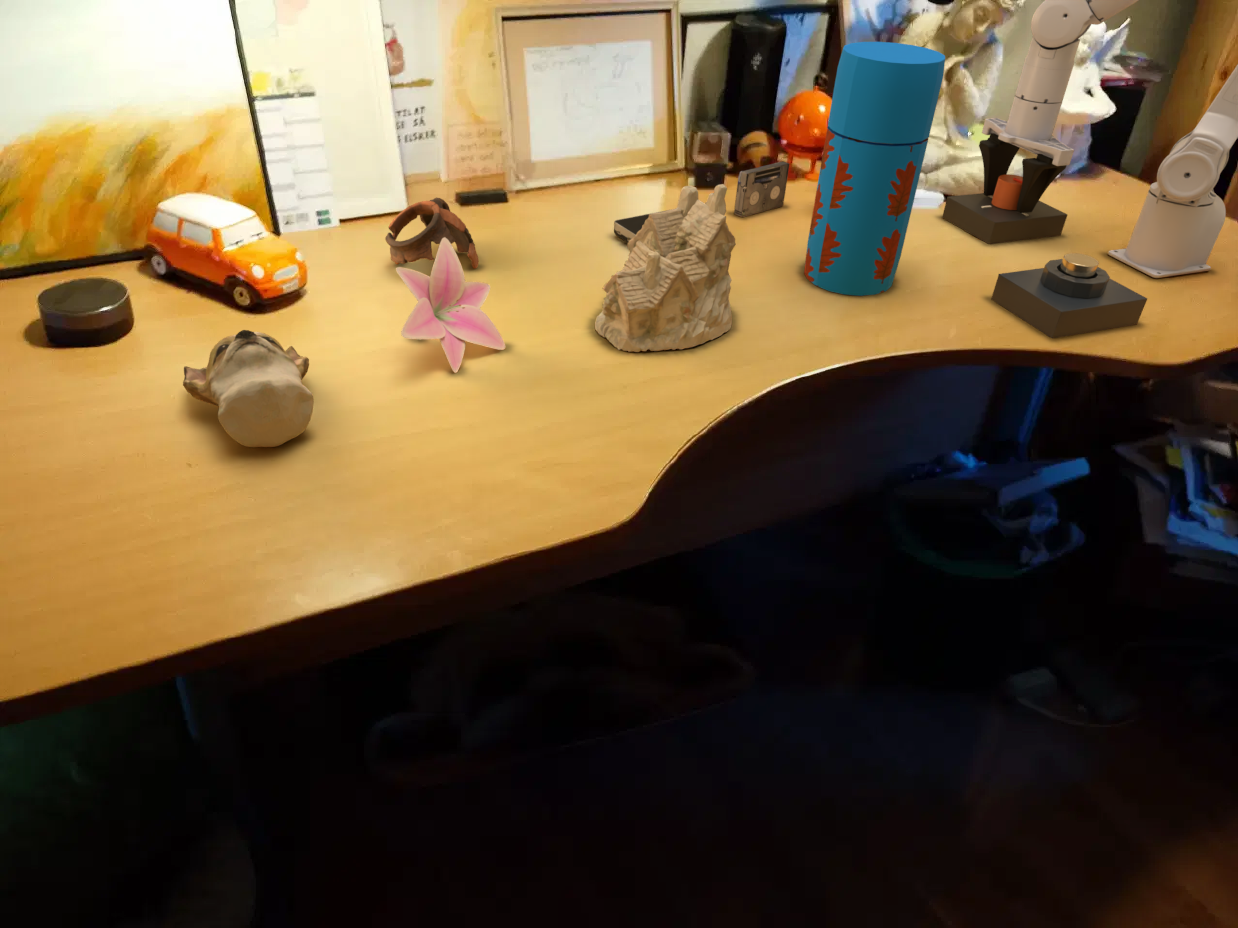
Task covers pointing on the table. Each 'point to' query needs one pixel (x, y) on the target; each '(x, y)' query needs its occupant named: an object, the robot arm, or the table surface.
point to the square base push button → (1067, 300)
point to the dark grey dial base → (1002, 219)
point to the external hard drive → (630, 226)
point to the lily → (449, 307)
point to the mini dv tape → (761, 189)
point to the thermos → (871, 164)
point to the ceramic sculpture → (254, 389)
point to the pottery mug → (429, 232)
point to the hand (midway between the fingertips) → (1007, 203)
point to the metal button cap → (1079, 266)
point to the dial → (1007, 191)
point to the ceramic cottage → (673, 279)
